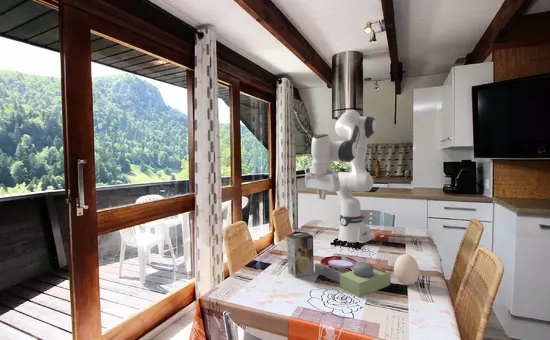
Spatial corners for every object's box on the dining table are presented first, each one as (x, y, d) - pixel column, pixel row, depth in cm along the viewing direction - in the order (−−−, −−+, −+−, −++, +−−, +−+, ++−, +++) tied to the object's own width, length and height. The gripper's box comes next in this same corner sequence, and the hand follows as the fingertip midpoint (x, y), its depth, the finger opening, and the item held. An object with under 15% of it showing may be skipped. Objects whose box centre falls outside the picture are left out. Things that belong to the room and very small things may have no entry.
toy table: (356, 275, 118) (356, 261, 117) (348, 283, 110) (348, 269, 110) (333, 270, 123) (333, 257, 123) (324, 277, 116) (324, 263, 116)
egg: (390, 279, 113) (390, 250, 113) (412, 279, 113) (413, 250, 113) (399, 289, 105) (399, 258, 104) (423, 289, 104) (423, 258, 104)
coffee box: (305, 268, 126) (305, 231, 125) (314, 273, 120) (313, 235, 119) (287, 272, 121) (286, 234, 121) (295, 278, 116) (294, 238, 115)
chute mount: (343, 264, 130) (343, 255, 129) (371, 276, 116) (371, 266, 116) (314, 273, 120) (314, 263, 120) (342, 286, 107) (342, 276, 107)
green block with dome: (370, 276, 116) (370, 257, 116) (390, 285, 108) (390, 264, 108) (340, 287, 107) (339, 266, 106) (359, 297, 99) (359, 274, 99)
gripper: (343, 170, 127) (343, 201, 129) (312, 168, 144) (313, 195, 146) (332, 171, 124) (333, 203, 125) (302, 169, 141) (303, 197, 142)
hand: (322, 199), depth 135 cm, fingers closed
